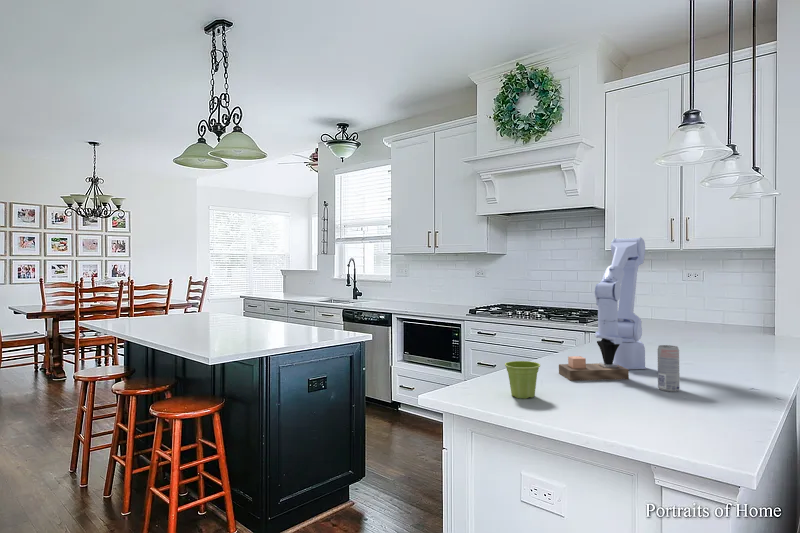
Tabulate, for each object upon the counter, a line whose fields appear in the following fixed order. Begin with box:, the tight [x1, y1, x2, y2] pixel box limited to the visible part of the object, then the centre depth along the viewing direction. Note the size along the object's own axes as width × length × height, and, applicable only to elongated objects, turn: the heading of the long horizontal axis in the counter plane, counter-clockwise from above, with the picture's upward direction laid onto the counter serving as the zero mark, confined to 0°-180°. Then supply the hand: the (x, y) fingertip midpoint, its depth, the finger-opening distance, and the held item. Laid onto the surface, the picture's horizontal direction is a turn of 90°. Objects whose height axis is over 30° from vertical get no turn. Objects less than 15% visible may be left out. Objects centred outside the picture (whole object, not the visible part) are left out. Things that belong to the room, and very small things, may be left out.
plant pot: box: [504, 360, 541, 399], centre depth 140 cm, size 9×9×9 cm
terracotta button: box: [567, 355, 587, 369], centre depth 162 cm, size 4×4×3 cm
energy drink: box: [657, 344, 681, 393], centre depth 145 cm, size 5×5×12 cm
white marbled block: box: [599, 362, 618, 368], centre depth 162 cm, size 4×4×3 cm
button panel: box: [558, 362, 630, 382], centre depth 162 cm, size 18×10×3 cm, turn 92°
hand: (608, 363), depth 162 cm, fingers closed, pressing on white marbled block
